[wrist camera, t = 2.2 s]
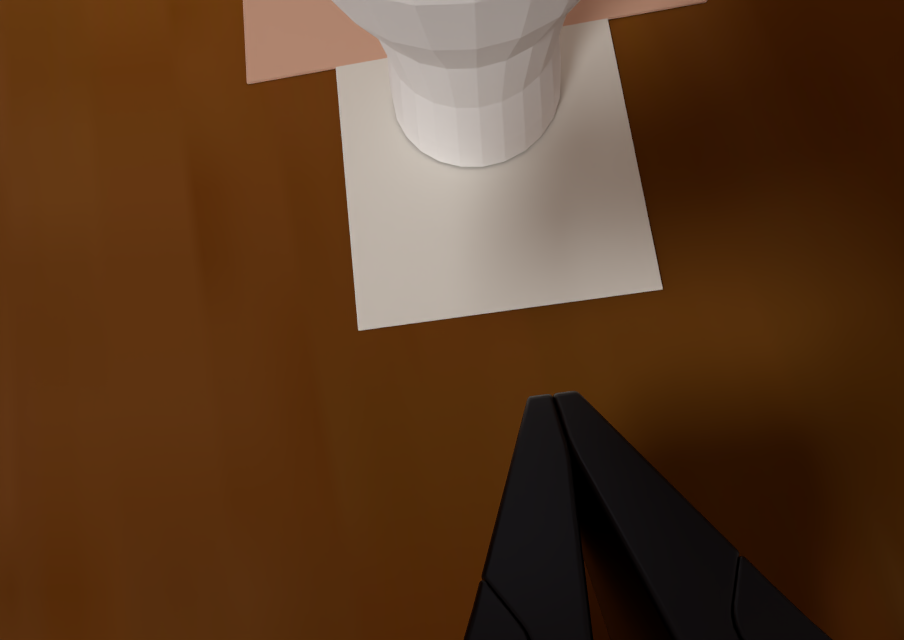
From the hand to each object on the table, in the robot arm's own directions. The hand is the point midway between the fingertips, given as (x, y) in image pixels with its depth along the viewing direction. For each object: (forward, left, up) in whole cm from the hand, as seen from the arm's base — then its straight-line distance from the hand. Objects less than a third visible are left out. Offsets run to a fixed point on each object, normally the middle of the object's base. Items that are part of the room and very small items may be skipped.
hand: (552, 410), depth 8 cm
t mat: (+9, +11, -11) cm, 18 cm away
